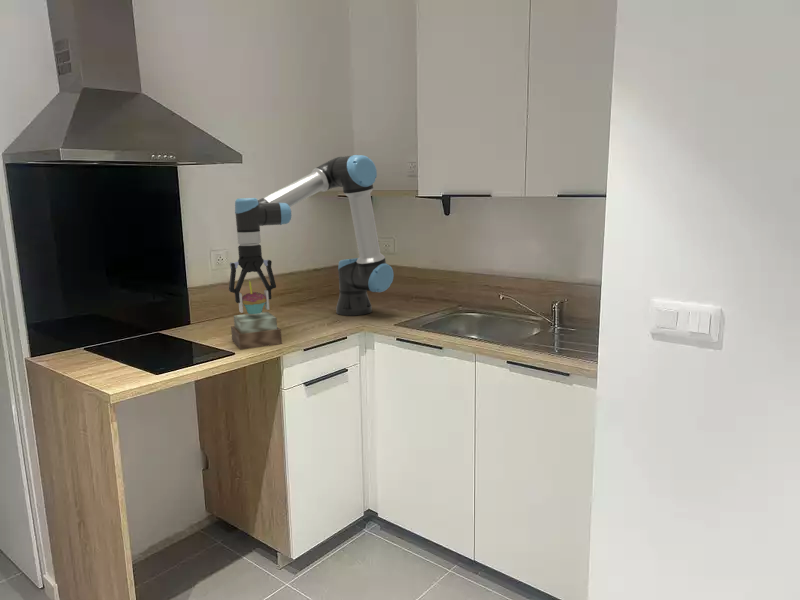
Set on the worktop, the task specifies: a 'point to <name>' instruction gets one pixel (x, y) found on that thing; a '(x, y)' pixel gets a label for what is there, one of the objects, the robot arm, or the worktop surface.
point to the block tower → (255, 330)
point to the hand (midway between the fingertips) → (254, 310)
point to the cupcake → (253, 301)
